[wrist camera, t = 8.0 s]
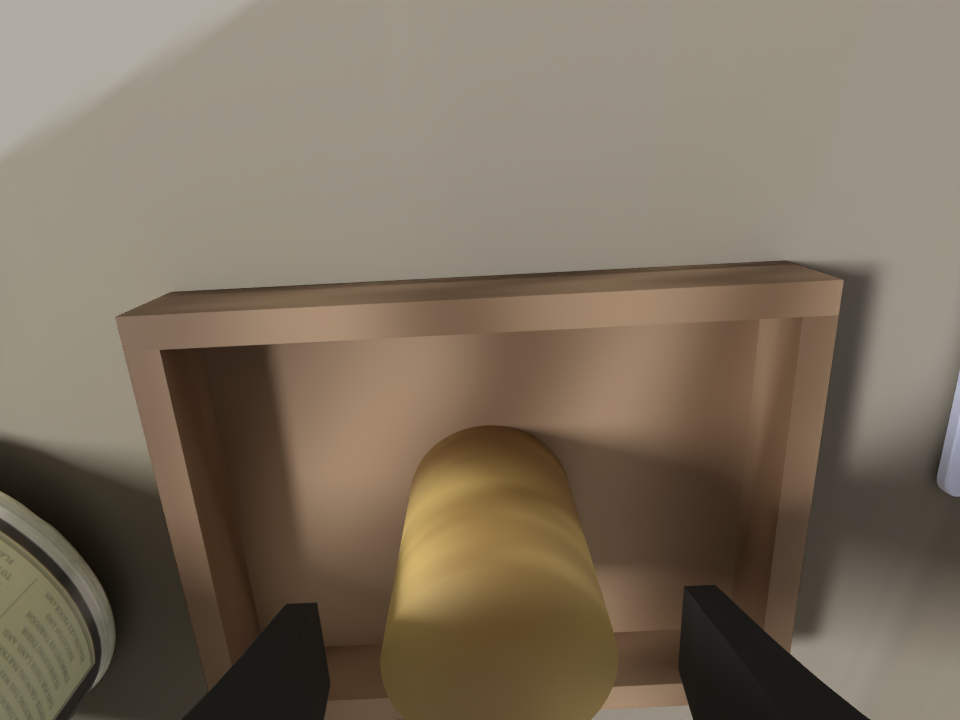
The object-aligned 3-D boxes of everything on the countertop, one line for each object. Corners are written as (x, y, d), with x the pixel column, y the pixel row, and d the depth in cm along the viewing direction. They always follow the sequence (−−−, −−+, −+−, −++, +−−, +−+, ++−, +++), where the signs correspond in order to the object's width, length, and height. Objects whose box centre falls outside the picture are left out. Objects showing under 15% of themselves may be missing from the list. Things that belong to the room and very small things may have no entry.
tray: (785, 260, 16) (844, 279, 13) (743, 631, 19) (783, 700, 17) (171, 292, 16) (114, 317, 13) (249, 656, 20) (217, 728, 17)
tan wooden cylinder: (587, 442, 17) (649, 590, 11) (546, 576, 18) (582, 770, 12) (426, 410, 16) (403, 547, 11) (397, 549, 18) (363, 736, 12)
